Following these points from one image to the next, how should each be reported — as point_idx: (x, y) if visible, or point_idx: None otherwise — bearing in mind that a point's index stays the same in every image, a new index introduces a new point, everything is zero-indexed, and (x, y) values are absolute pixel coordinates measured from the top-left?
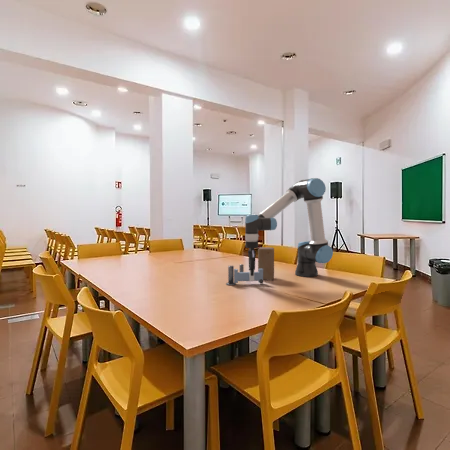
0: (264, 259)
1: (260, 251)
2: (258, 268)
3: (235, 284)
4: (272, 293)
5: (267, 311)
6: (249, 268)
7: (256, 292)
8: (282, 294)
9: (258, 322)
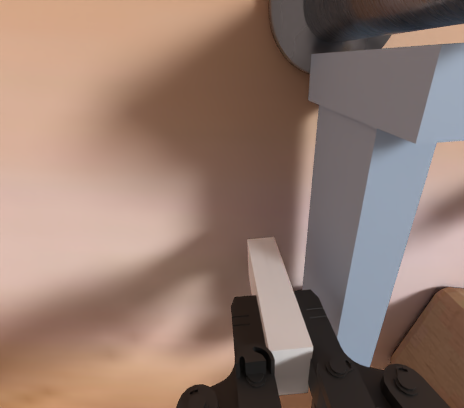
0: None
1: None
2: None
3: (298, 67)
4: (16, 339)
5: None
6: (325, 367)
7: (6, 252)
8: (12, 378)
9: None
